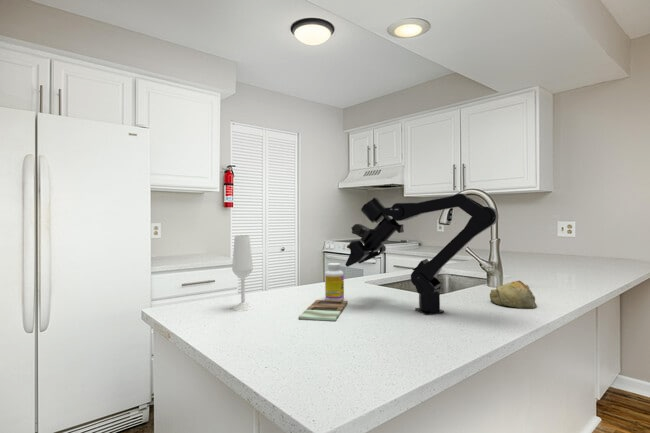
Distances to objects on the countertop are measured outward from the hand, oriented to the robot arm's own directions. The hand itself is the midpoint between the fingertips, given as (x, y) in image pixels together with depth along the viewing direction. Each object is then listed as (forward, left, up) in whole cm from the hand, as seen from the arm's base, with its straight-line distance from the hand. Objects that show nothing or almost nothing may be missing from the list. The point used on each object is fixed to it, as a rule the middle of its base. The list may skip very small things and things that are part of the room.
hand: (352, 264), depth 128 cm
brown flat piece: (-7, +13, -13) cm, 20 cm away
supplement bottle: (+6, +5, -13) cm, 15 cm away
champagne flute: (+6, +37, -13) cm, 40 cm away
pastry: (-22, -48, -14) cm, 55 cm away
